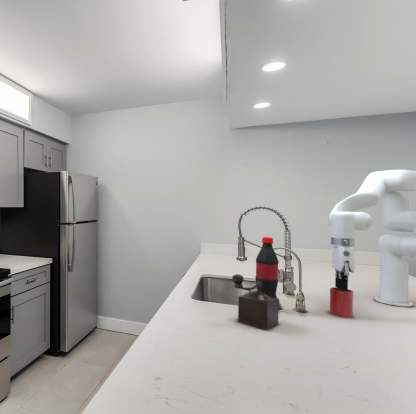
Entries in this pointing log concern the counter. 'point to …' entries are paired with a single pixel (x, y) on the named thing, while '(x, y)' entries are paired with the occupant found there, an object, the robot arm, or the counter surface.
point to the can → (341, 302)
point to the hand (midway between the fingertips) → (341, 288)
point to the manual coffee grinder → (256, 306)
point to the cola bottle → (267, 268)
